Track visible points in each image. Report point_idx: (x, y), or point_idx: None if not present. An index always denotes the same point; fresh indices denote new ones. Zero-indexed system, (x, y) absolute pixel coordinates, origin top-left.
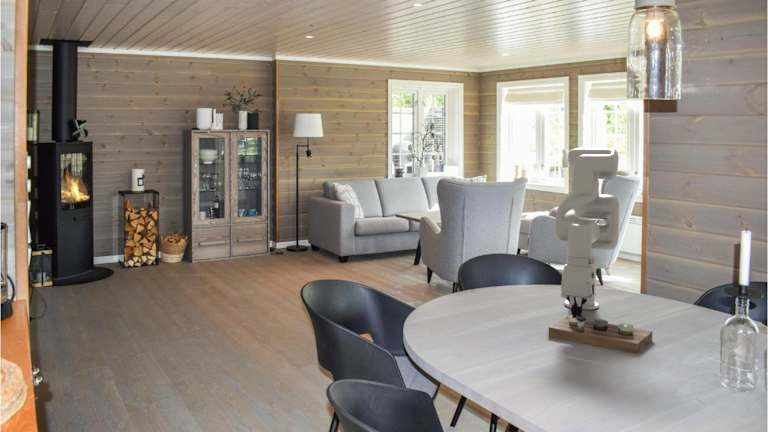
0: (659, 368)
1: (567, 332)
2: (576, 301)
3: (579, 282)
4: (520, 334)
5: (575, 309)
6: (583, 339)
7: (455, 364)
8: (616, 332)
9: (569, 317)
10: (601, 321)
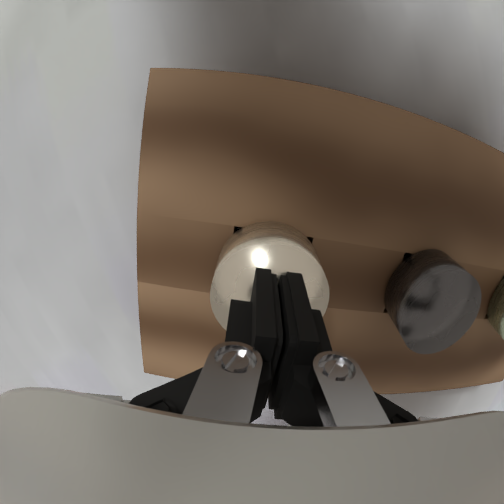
0: (491, 409)
1: None
2: (259, 377)
3: None
4: (62, 344)
5: (270, 389)
6: None
7: None
8: (483, 299)
9: (216, 313)
10: (447, 321)
